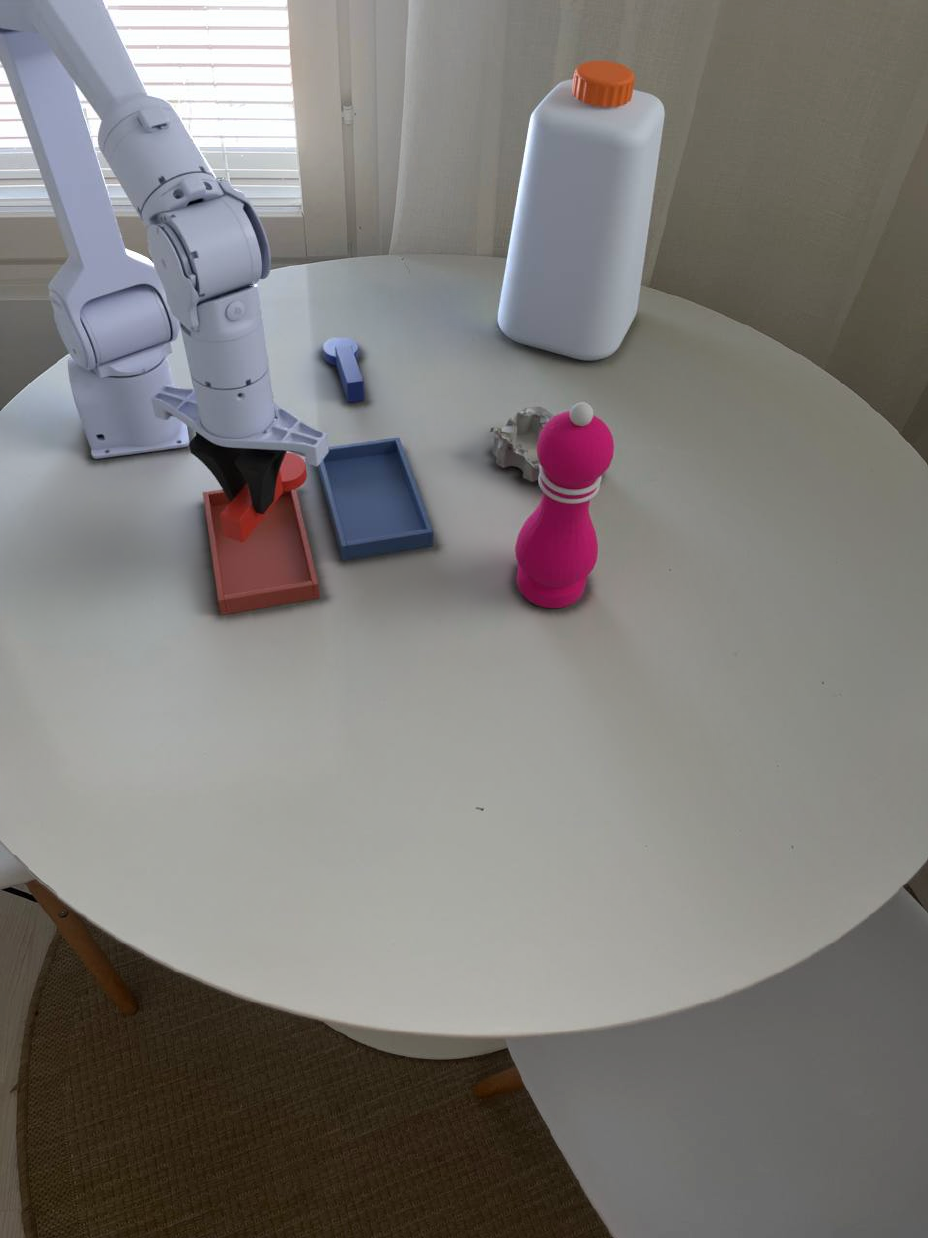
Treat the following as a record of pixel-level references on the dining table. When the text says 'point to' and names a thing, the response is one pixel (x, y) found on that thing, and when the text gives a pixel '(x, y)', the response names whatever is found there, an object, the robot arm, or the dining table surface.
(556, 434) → the pepper mill
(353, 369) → the blue spoon
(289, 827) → the dining table surface
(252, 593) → the red tray
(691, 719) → the dining table surface
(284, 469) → the red spoon
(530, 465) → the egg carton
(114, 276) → the robot arm
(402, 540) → the blue tray
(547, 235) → the plastic bottle
